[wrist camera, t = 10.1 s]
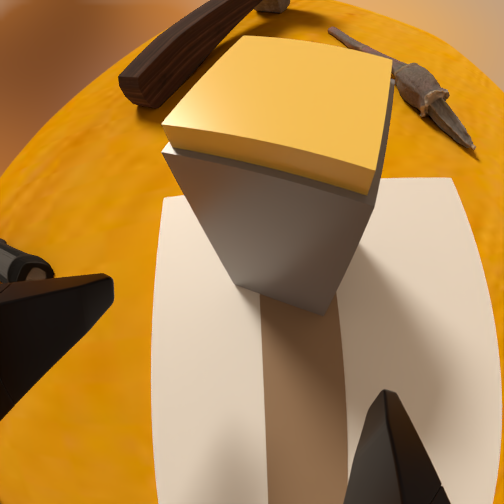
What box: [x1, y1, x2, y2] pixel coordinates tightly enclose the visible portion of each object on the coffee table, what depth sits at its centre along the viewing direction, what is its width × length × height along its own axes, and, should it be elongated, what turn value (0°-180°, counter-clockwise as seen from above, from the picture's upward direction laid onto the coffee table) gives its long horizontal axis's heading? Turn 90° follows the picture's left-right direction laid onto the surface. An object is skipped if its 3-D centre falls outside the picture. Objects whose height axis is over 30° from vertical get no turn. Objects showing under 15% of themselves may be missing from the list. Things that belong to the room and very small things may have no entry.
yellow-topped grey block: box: [161, 36, 395, 316], centre depth 11 cm, size 5×5×11 cm
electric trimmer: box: [0, 239, 54, 283], centre depth 19 cm, size 4×16×3 cm, turn 71°
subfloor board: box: [151, 178, 502, 504], centre depth 13 cm, size 27×20×1 cm
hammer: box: [118, 0, 290, 109], centre depth 26 cm, size 5×11×30 cm
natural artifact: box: [328, 27, 476, 150], centre depth 22 cm, size 4×23×4 cm
